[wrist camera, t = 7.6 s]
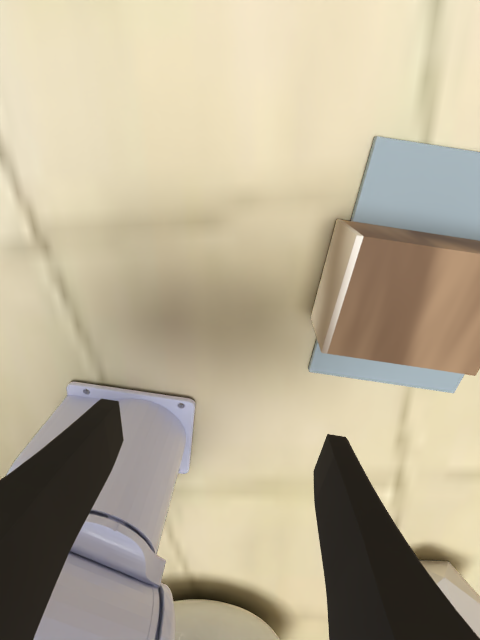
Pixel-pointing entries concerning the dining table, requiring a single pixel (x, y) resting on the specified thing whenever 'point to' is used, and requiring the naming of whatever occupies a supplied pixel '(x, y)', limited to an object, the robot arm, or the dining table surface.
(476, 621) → the die
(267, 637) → the serving bowl
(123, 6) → the dining table surface
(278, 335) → the dining table surface
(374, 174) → the mat
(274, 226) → the dining table surface
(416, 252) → the block
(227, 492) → the dining table surface
